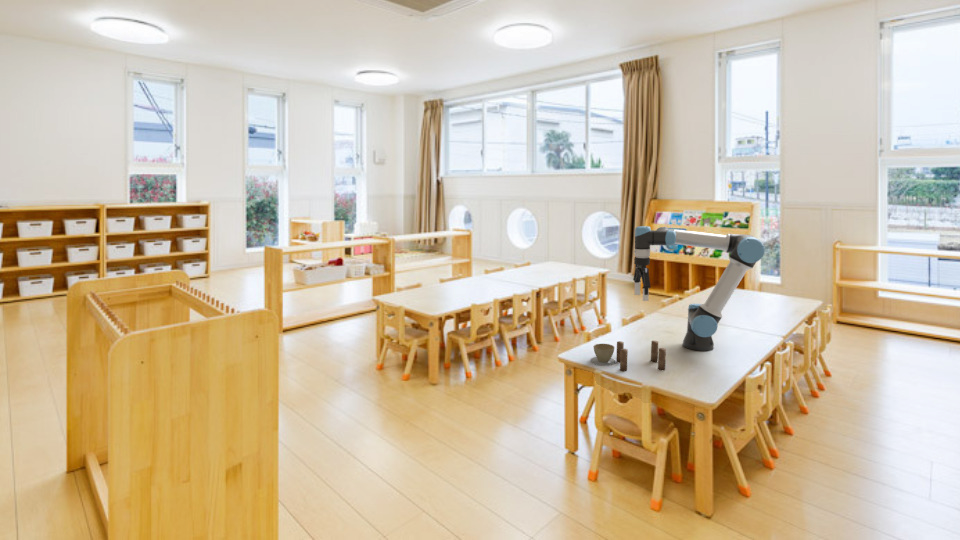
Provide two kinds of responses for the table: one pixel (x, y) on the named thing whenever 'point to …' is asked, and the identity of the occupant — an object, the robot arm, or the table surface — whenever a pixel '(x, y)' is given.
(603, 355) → the olive grey bowl
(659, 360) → the posts
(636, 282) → the robot arm
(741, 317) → the table surface
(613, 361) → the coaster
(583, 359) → the table surface
